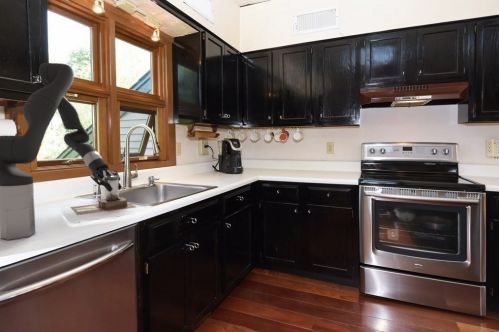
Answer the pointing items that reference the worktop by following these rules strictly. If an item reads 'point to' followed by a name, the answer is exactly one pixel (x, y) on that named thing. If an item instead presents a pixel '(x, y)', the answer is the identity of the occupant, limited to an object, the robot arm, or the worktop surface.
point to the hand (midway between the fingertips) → (115, 189)
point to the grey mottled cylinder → (115, 191)
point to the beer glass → (103, 191)
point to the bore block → (103, 206)
